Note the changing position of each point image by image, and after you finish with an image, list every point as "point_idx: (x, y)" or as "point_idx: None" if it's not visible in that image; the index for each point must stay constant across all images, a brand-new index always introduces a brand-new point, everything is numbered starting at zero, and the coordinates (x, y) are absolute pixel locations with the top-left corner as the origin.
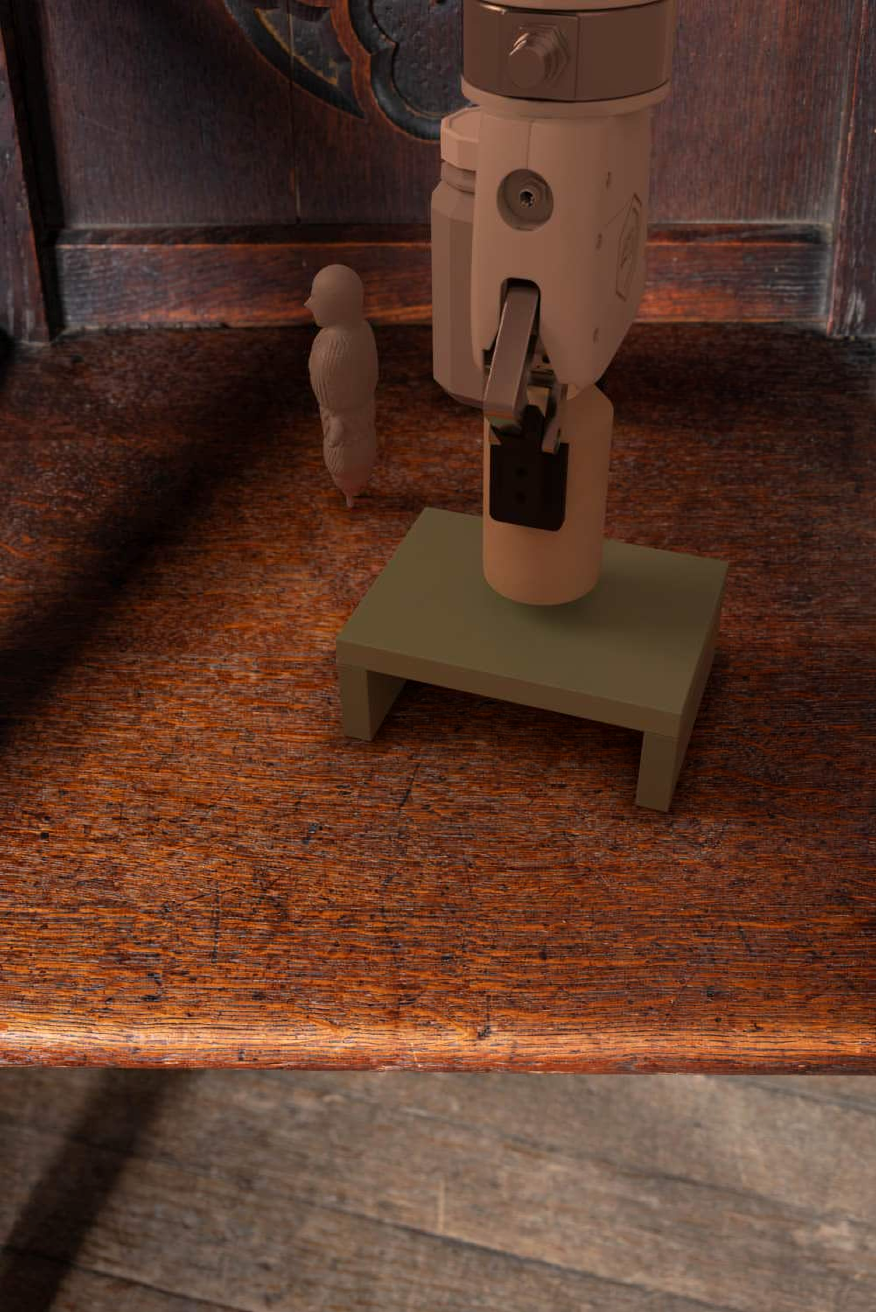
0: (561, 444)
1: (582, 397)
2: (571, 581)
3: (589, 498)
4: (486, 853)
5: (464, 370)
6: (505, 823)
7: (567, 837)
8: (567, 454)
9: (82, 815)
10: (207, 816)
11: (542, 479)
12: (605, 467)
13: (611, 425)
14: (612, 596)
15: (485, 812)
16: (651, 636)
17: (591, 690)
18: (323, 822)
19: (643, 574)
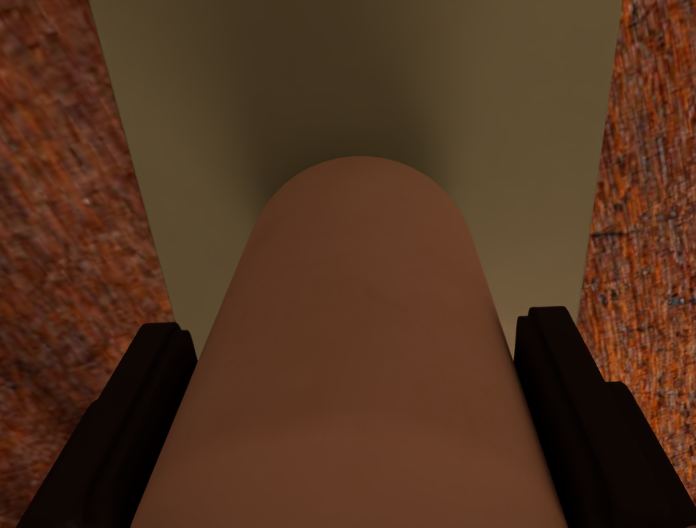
0: (632, 526)
1: None
2: (444, 202)
3: (437, 287)
4: (688, 111)
5: None
6: (628, 107)
7: (640, 17)
8: (619, 476)
9: (692, 476)
10: (675, 392)
11: (647, 461)
12: (366, 308)
13: (322, 402)
14: (306, 117)
15: (613, 138)
16: (404, 2)
17: (605, 64)
18: (665, 296)
19: (210, 82)
